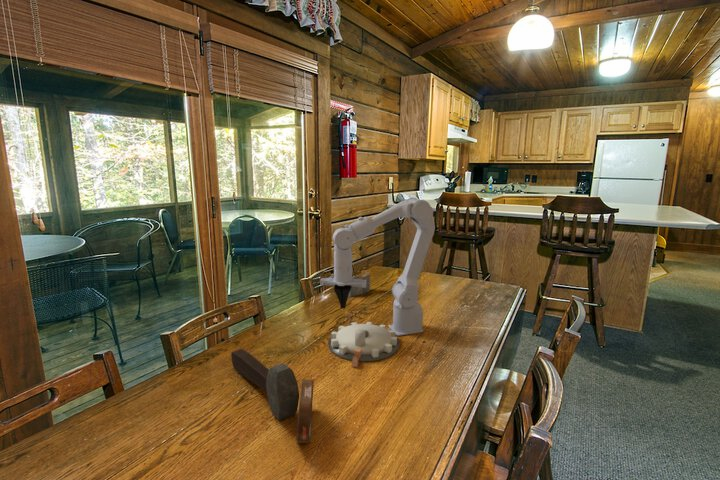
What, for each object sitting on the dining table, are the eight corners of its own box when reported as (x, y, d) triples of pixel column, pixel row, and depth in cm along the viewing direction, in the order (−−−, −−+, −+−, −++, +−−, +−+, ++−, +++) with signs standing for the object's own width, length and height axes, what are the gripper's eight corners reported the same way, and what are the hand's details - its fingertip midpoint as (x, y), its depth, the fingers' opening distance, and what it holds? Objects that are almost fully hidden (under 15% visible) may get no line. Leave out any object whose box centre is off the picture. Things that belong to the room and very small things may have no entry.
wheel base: (382, 324, 129) (383, 320, 128) (414, 357, 107) (414, 352, 107) (320, 333, 122) (320, 329, 121) (340, 370, 100) (340, 365, 100)
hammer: (230, 380, 102) (281, 426, 78) (225, 340, 100) (275, 375, 77) (247, 374, 105) (301, 416, 81) (243, 335, 103) (296, 367, 80)
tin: (301, 404, 86) (300, 371, 84) (315, 403, 86) (314, 370, 84) (295, 453, 71) (294, 414, 69) (312, 452, 71) (311, 414, 70)
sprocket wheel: (339, 325, 127) (339, 308, 125) (399, 330, 123) (400, 313, 122) (322, 354, 107) (322, 335, 106) (393, 361, 103) (393, 341, 102)
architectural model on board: (365, 290, 165) (365, 269, 163) (369, 292, 163) (370, 270, 161) (345, 296, 158) (345, 274, 156) (350, 298, 156) (350, 275, 154)
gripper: (317, 269, 114) (318, 310, 116) (364, 271, 112) (364, 313, 114) (322, 263, 121) (323, 302, 123) (367, 264, 119) (366, 305, 121)
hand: (343, 307), depth 119 cm, fingers closed
